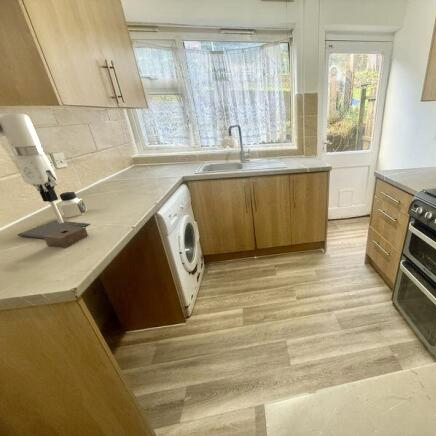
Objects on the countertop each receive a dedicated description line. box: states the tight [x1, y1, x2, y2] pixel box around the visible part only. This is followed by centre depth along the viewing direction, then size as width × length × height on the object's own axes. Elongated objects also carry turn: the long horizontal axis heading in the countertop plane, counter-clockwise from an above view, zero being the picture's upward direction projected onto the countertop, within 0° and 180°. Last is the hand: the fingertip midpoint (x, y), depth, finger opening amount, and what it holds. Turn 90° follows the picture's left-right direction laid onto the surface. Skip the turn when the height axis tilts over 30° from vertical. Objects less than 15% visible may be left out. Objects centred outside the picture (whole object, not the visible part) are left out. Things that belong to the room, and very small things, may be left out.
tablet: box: [17, 219, 91, 240], centre depth 110 cm, size 15×22×1 cm
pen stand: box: [43, 226, 89, 249], centre depth 99 cm, size 9×9×4 cm
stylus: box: [49, 201, 64, 223], centre depth 94 cm, size 1×1×15 cm
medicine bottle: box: [59, 191, 88, 218], centre depth 125 cm, size 7×7×12 cm
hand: (51, 200), depth 93 cm, fingers closed on stylus, 1 cm apart
